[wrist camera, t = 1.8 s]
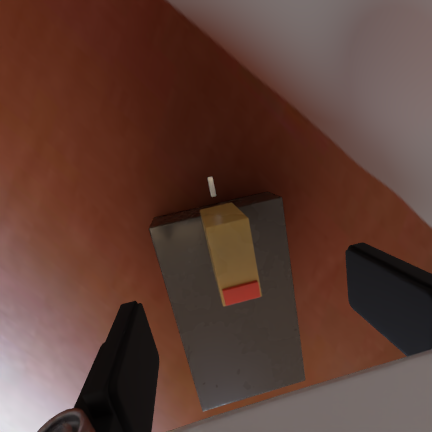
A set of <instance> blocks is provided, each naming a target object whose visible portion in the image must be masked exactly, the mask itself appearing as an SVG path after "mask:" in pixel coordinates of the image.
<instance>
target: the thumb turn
mask: <svg viewBox="0 0 432 432" xmlns="http://www.w3.org/2000/svg"><path fill="white" fill-rule="evenodd" d="M200 215H201V219H202V223H203V228H204V232H205V236H206V241H207V245H208V250H209V254H210V258H211V263H212V267H213V271H214V275H215V279H216V282H217V286H218V290H219V293H220V297H221V301H222V304H223V306H228V305H232V304H236V303H239V302H243V301H247V300H250V299H254V298H258V297H261V296H262V293H261V288H260V282H259V276H258V270H257V264H256V258H255V253H254V247H253V241H252V235H251V229H250V223H249V218H248V217H247V216H246V215H245V214H244V213H242V212H241V211H240V210H239V209H238V208H237V207H236V206H235V205H234V204H233V203H227V204H223V205H218V206H214V207H210V208H205V209H201V210H200Z"/></svg>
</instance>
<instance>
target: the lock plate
mask: <svg viewBox="0 0 432 432" xmlns="http://www.w3.org/2000/svg"><path fill="white" fill-rule="evenodd" d="M207 179H208V184H209V189H210V194H211V197H214V196H216V192H215V187H214V182H213V177H212V176H211V177H207ZM227 203H233V204H234V205H235V206H236V207H237V208H238V209H239V210H240V211H241V212H242V213H244V214H245V215H246V216H247V217H248V218H249V223H250V229H251V235H252V241H253V247H254V253H255V258H256V264H257V270H258V276H259V282H260V288H261V293H262V296H261V297H258V298H254V299H250V300H247V301H243V302H239V303H236V304H232V305H228V306H223V304H222V301H221V297H220V293H219V290H218V286H217V282H216V279H215V275H214V271H213V267H212V263H211V258H210V254H209V250H208V245H207V241H206V236H205V232H204V228H203V223H202V219H201V215H200V210H201V209H205V208H210V207H214V206H218V205H223V204H227ZM149 231H150V235H151V238H152V241H153V245H154V248H155V251H156V255H157V258H158V262H159V265H160V268H161V272H162V275H163V279H164V282H165V285H166V289H167V292H168V295H169V299H170V302H171V306H172V309H173V312H174V316H175V319H176V323H177V326H178V329H179V333H180V336H181V339H182V343H183V346H184V350H185V353H186V356H187V360H188V363H189V367H190V370H191V373H192V377H193V380H194V384H195V387H196V390H197V394H198V397H199V400H200V404H201V407H202V410H203V411H206V410H209V409H212V408H216V407H219V406H222V405H226V404H229V403H232V402H235V401H239V400H242V399H245V398H249V397H252V396H255V395H259V394H262V393H265V392H268V391H272V390H275V389H278V388H282V387H285V386H288V385H292V384H295V383H298V382H301V381H305V374H304V366H303V358H302V350H301V342H300V335H299V327H298V319H297V311H296V303H295V296H294V288H293V280H292V272H291V264H290V257H289V249H288V241H287V233H286V225H285V218H284V210H283V202H282V197H280V196H277V195H275V194H272V193H270V192H264V193H260V194H256V195H251V196H247V197H242V198H238V199H234V200H229V201H225V202H221V203H216V204H212V205H208V206H203V207H199V208H195V209H190V210H186V211H181V212H177V213H173V214H168V215H164V216H160V217H155V218H153V221H152V223H151V225H150V227H149Z"/></svg>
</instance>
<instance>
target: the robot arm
mask: <svg viewBox="0 0 432 432" xmlns="http://www.w3.org/2000/svg"><path fill="white" fill-rule="evenodd" d="M346 268H347V284H348V299H349V303H350V305H351V307H352V308H353V309H354V310H355V311H356V312H357V313H358V314H360V315H361V316H362V317H363V318H364V319H365V320H366V321H368V322H369V323H370V324H371V325H372V326H373V327H374V328H375V329H377V330H378V331H379V332H380V333H381V334H382V335H383V336H385V337H386V338H387V339H388V340H389V341H390V342H391V343H393V344H394V345H395V346H396V347H397V348H398V349H399V350H401V351H402V352H403V353H404V354H405V355H406V356H407V357H404V358H401V359H398V360H394V361H391V362H388V363H384V364H381V365H378V366H374V367H371V368H367V369H364V370H361V371H358V372H354V373H351V374H348V375H345V376H341V377H338V378H335V379H331V380H328V381H325V382H322V383H318V384H315V385H312V386H309V387H305V388H302V389H299V390H296V391H292V392H289V393H286V394H283V395H279V396H276V397H273V398H270V399H267V400H263V401H260V402H257V403H254V404H251V405H247V406H244V407H241V408H238V409H235V410H231V411H228V412H225V413H222V414H219V415H215V416H212V417H209V418H206V419H203V420H200V421H197V422H194V423H191V424H188V425H185V426H182V427H179V428H176V429H173V430H170V431H167V432H432V274H431V273H428V272H426V271H424V270H422V269H420V268H418V267H415V266H413V265H411V264H409V263H407V262H405V261H402V260H400V259H398V258H396V257H394V256H391V255H389V254H387V253H385V252H383V251H381V250H378V249H376V248H374V247H372V246H370V245H368V244H365V243H358V244H354V245H350V246H349V247H348V250H346ZM158 370H159V354H158V351H157V348H156V345H155V342H154V339H153V336H152V333H151V330H150V327H149V324H148V321H147V317H146V314H145V311H144V308H143V306H142V304H141V303H139V304H138V303H137V302H136V301H133V302H129V303H125V304H122V305H121V306H120V309H119V311H118V313H117V316H116V318H115V320H114V323H113V325H112V327H111V330H110V332H109V334H108V337H107V339H106V342H105V343H103V344H102V345H101V347H100V349H99V352H98V354H97V356H96V358H95V361H94V363H93V365H92V368H91V370H90V372H89V374H88V377H87V379H86V381H85V383H84V386H83V388H82V390H81V393H80V395H79V397H78V399H77V402H76V404H75V406H74V408H72V409H67V410H65V411H63V412H61V413H59V414H57V415H56V416H54V417H53V418H51V419H50V420H49V421H48V422H46V423H45V424H44V425H43V426H42V427H41V428H40V429H39V430H38V432H151V430H152V422H153V413H154V404H155V396H156V387H157V378H158Z"/></svg>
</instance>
